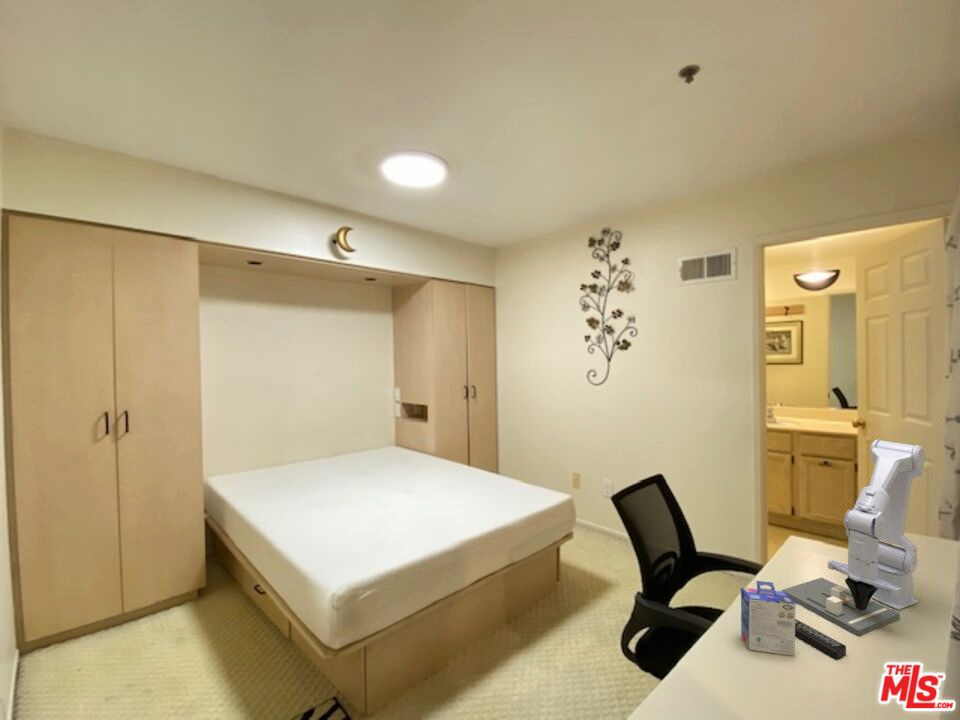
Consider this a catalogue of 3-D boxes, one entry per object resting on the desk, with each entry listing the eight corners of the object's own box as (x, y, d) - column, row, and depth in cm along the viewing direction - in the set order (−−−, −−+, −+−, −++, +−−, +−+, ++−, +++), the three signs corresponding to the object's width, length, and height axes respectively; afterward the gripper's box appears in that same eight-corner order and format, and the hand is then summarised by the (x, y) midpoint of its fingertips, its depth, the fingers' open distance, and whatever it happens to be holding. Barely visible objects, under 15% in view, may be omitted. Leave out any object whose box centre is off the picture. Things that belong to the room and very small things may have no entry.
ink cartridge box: (784, 640, 100) (785, 581, 99) (796, 657, 94) (798, 594, 94) (738, 634, 102) (740, 576, 101) (748, 650, 96) (750, 589, 96)
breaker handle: (831, 606, 110) (831, 594, 110) (844, 613, 107) (844, 601, 107) (823, 609, 109) (824, 597, 109) (837, 616, 106) (837, 604, 106)
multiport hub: (836, 662, 93) (836, 652, 93) (783, 631, 103) (783, 622, 103) (846, 655, 95) (847, 646, 95) (793, 626, 105) (794, 617, 105)
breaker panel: (821, 582, 125) (821, 577, 124) (899, 619, 108) (900, 613, 108) (781, 595, 118) (781, 589, 118) (858, 636, 101) (858, 630, 101)
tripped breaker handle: (835, 596, 115) (835, 584, 115) (848, 602, 112) (848, 590, 112) (828, 598, 114) (828, 587, 114) (841, 604, 111) (841, 593, 111)
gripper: (821, 547, 113) (820, 596, 113) (889, 574, 99) (887, 630, 100) (837, 542, 115) (835, 590, 116) (906, 569, 102) (904, 623, 102)
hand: (861, 608), depth 108 cm, fingers closed
